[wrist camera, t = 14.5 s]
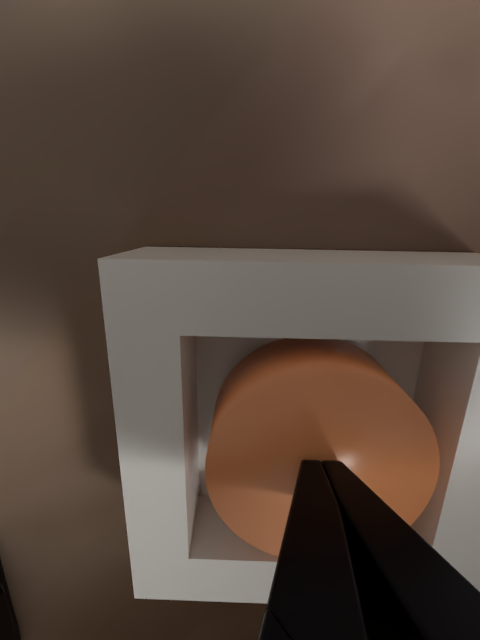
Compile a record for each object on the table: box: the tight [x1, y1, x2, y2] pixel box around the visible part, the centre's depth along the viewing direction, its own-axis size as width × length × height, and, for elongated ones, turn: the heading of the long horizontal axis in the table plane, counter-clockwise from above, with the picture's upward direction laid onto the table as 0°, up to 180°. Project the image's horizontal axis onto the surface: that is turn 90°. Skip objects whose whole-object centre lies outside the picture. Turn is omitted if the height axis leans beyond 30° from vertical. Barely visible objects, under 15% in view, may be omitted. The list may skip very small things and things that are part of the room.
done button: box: [205, 338, 440, 556], centre depth 8 cm, size 5×5×2 cm
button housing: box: [97, 247, 480, 604], centre depth 9 cm, size 9×9×3 cm
